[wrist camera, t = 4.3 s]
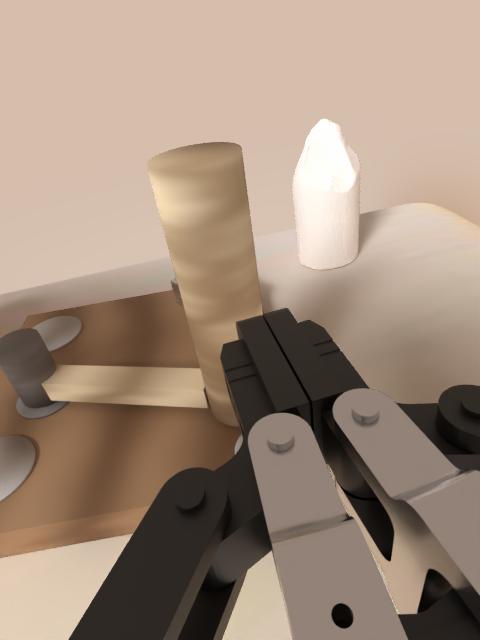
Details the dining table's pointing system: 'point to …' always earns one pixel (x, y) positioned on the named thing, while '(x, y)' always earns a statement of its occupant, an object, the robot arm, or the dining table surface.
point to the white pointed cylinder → (327, 199)
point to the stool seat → (101, 430)
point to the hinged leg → (194, 284)
